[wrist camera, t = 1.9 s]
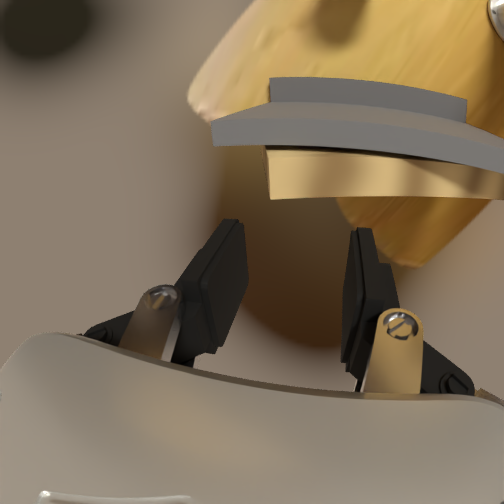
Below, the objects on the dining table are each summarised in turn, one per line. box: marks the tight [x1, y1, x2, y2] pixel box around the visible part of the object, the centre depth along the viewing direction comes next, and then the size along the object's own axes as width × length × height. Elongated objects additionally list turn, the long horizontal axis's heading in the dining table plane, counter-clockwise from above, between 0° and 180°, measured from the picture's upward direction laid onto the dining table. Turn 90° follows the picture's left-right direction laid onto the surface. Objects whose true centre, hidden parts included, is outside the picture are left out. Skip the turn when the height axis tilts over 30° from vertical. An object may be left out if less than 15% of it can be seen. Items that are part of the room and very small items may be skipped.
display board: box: [211, 77, 504, 174], centre depth 27 cm, size 32×10×26 cm, turn 93°
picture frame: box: [260, 145, 504, 200], centre depth 26 cm, size 24×3×18 cm, turn 94°
